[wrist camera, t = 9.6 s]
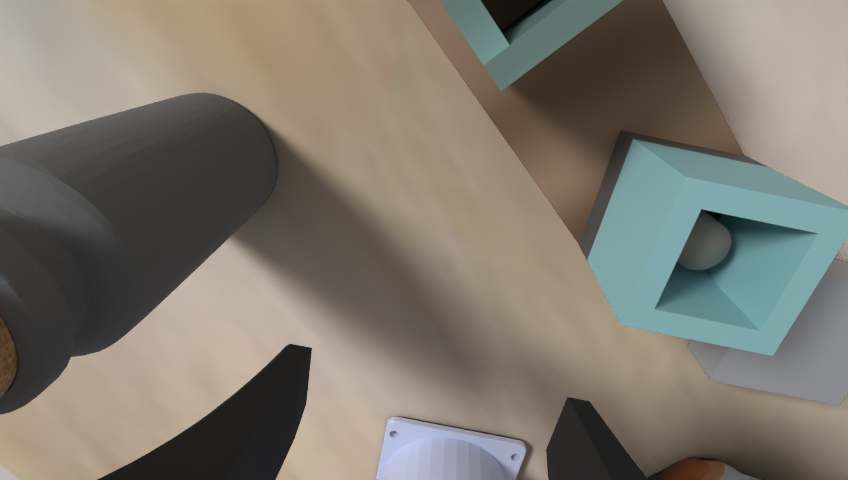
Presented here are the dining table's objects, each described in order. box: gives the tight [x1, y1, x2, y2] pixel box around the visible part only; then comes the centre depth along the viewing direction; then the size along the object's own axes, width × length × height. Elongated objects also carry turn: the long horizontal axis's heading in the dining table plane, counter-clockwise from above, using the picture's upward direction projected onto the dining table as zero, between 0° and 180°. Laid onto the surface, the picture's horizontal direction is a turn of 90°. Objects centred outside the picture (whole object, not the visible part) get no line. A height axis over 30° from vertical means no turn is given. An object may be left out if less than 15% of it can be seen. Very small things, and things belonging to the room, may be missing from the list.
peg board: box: [408, 0, 744, 270], centre depth 16 cm, size 18×7×8 cm, turn 38°
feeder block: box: [687, 259, 848, 406], centre depth 22 cm, size 6×6×2 cm
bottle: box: [0, 93, 277, 414], centre depth 15 cm, size 6×6×15 cm
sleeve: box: [579, 130, 848, 356], centre depth 17 cm, size 5×5×6 cm
